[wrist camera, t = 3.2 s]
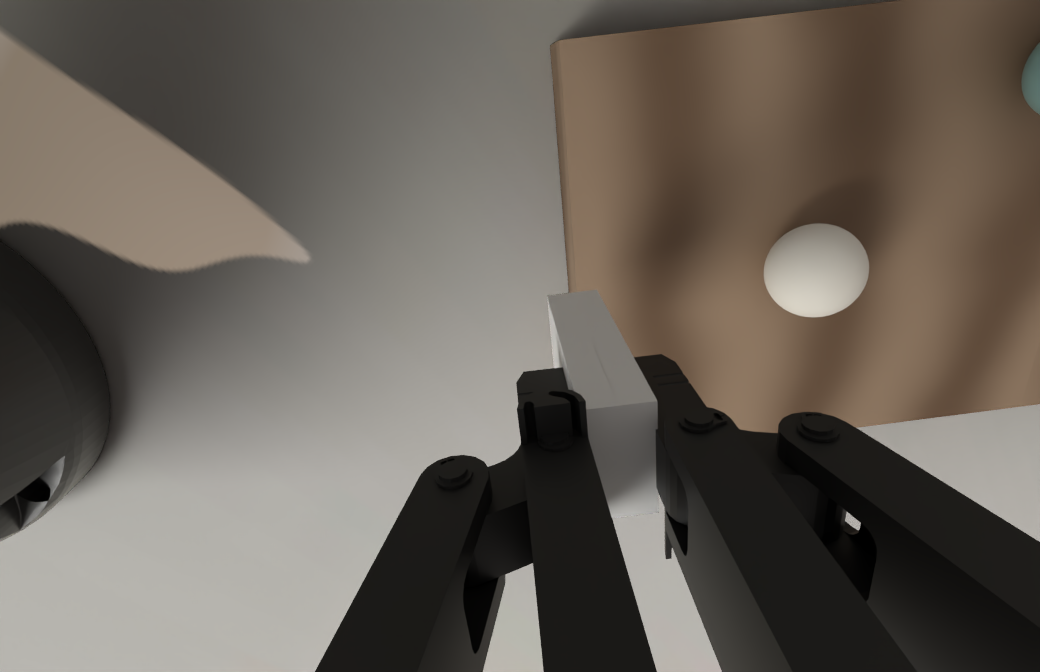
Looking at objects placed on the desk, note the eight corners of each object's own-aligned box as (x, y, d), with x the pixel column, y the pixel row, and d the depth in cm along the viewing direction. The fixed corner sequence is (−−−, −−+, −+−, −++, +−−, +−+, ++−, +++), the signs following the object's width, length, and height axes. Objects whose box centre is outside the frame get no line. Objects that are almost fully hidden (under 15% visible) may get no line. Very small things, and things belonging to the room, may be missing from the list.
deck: (579, 429, 26) (588, 462, 24) (550, 45, 20) (559, 39, 17) (1165, 354, 27) (1229, 379, 24) (1327, -46, 20) (1436, -63, 18)
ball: (745, 303, 21) (787, 337, 18) (750, 220, 20) (796, 242, 17) (828, 293, 21) (883, 325, 19) (838, 209, 20) (899, 230, 17)
